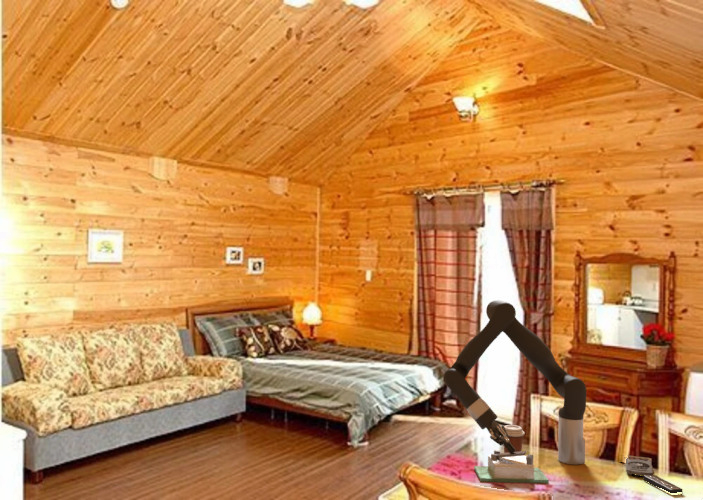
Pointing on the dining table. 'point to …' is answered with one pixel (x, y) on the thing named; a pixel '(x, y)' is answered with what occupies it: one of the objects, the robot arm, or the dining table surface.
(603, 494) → the dining table surface
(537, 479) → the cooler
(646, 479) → the multiport hub
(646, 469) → the graphics card
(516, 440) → the coffee cup
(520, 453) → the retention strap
